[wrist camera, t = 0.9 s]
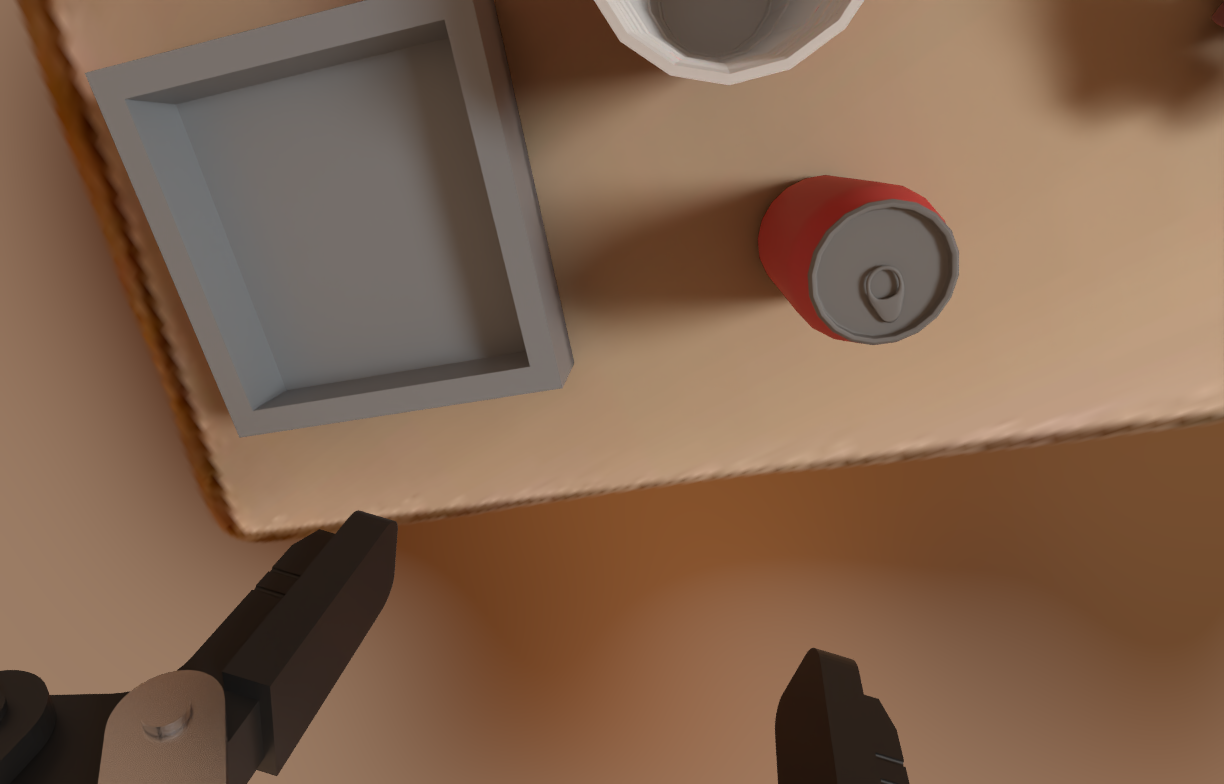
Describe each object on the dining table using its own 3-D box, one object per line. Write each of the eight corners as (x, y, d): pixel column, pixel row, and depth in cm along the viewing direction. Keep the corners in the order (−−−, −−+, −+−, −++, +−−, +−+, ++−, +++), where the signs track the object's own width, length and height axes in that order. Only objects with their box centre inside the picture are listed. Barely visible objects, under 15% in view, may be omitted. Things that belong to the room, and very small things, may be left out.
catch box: (154, 82, 36) (84, 73, 31) (493, -3, 33) (466, -27, 28) (282, 409, 42) (239, 437, 38) (574, 363, 39) (562, 388, 35)
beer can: (772, 310, 37) (815, 377, 26) (743, 198, 35) (776, 218, 24) (888, 275, 36) (987, 330, 24) (864, 157, 34) (961, 158, 22)
